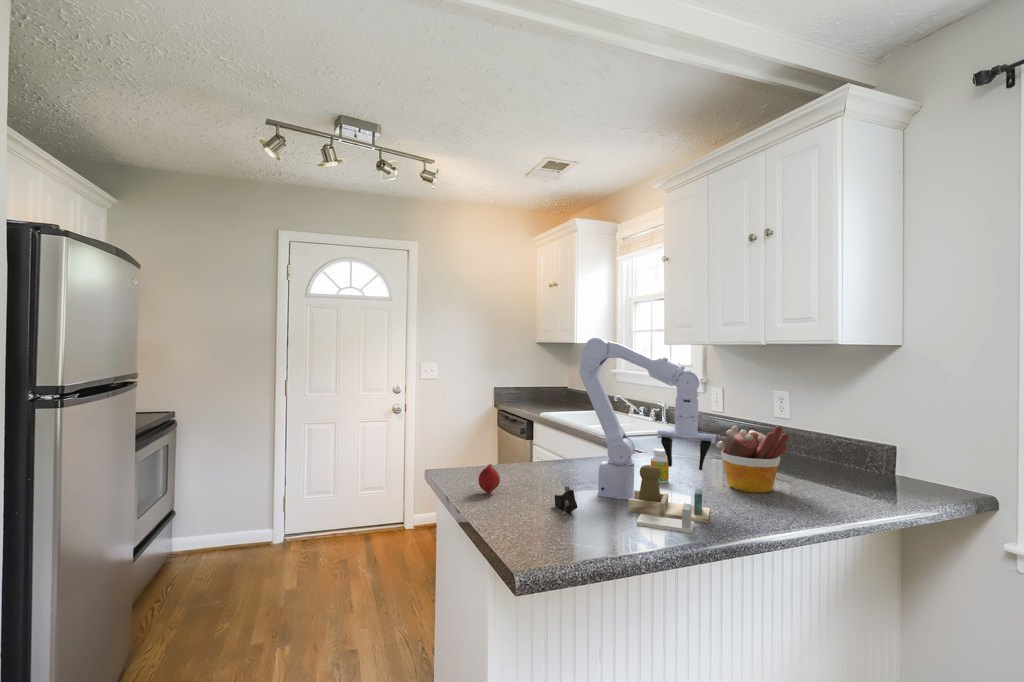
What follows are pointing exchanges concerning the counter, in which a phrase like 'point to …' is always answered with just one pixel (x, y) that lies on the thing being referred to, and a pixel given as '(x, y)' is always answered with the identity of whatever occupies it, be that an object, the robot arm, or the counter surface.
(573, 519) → the counter surface
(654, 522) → the cream base with post
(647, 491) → the cork
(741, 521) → the counter surface
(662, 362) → the robot arm
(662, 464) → the supplement bottle
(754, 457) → the bucket of meat
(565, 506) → the black angular piece
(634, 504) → the cream slotted holder
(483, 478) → the onion
